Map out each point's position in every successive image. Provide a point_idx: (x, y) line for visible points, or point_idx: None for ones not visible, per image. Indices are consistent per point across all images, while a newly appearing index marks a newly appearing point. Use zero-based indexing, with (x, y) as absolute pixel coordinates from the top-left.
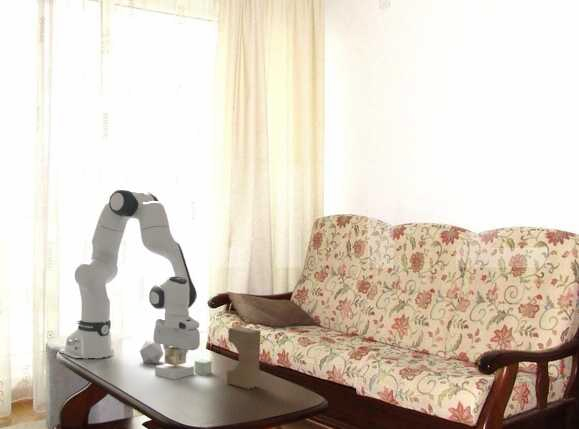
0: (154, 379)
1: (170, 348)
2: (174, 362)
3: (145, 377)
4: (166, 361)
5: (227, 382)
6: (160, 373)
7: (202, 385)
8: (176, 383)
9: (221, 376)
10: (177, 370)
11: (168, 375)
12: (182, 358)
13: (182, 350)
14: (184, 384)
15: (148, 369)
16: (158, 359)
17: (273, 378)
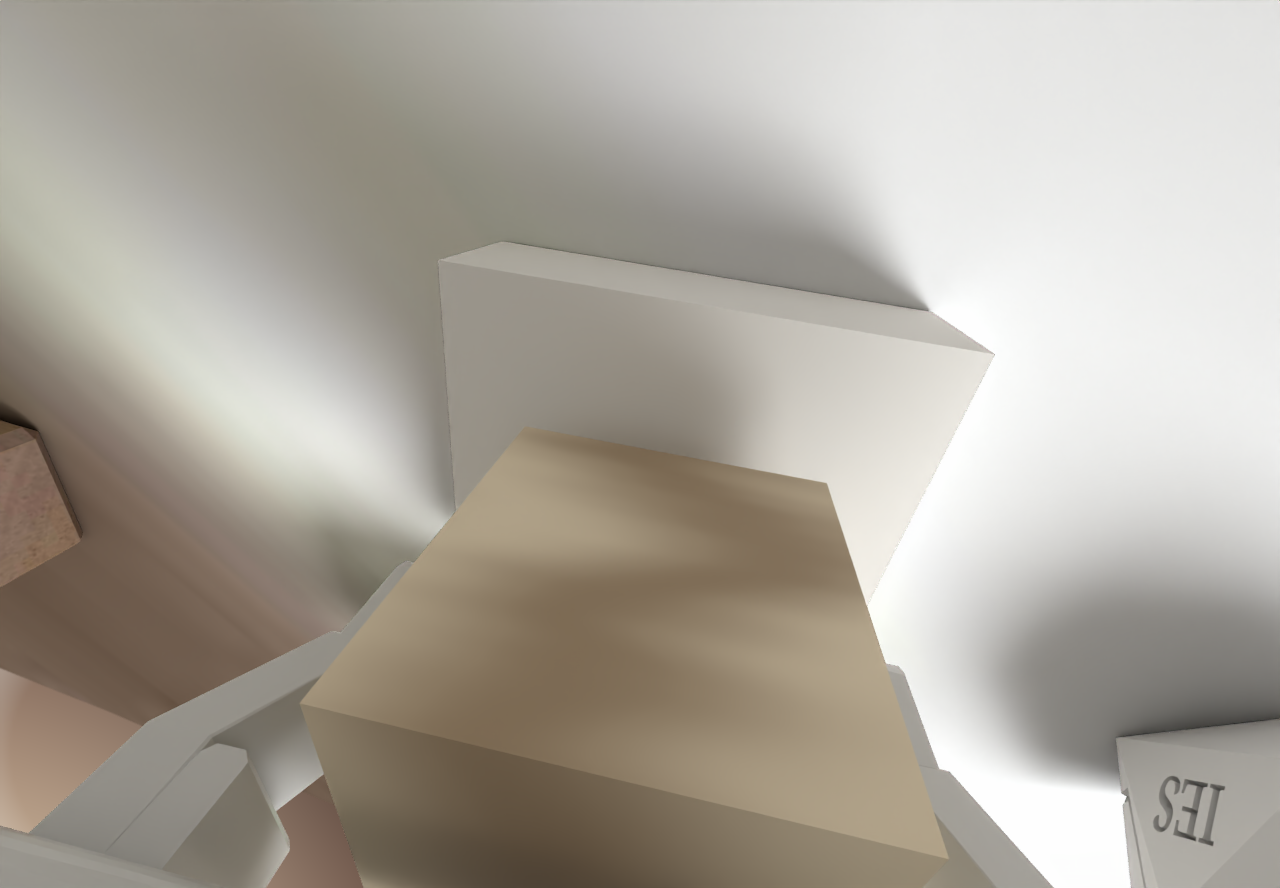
0: (791, 9)
1: (714, 872)
2: (538, 460)
3: (1042, 19)
4: (777, 495)
5: (8, 425)
6: (816, 299)
7: (62, 204)
8: (328, 44)
9: (277, 593)
10: (454, 333)
11: (632, 270)
12: (381, 584)
13: (193, 770)
14: (214, 80)
15: (1161, 504)
16: (1136, 788)
17: (49, 676)
